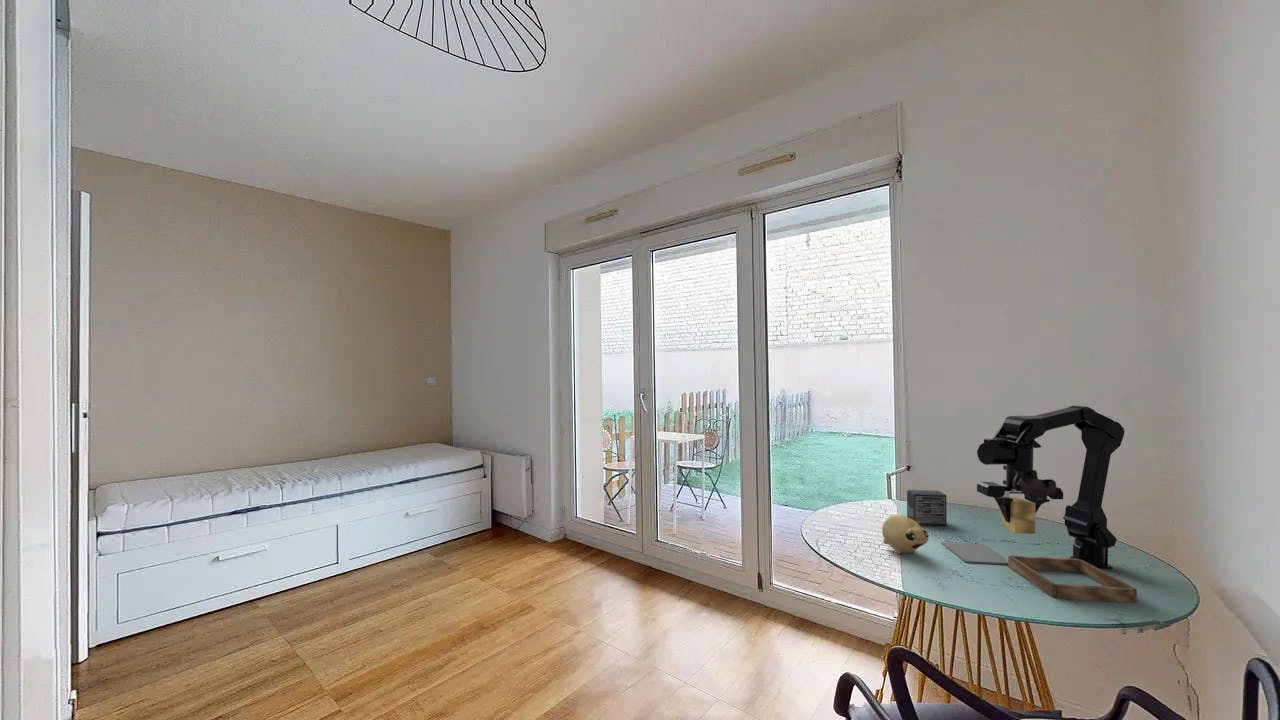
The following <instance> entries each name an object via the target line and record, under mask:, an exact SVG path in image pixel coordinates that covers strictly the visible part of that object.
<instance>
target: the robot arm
mask: <svg viewBox="0 0 1280 720" xmlns="http://www.w3.org/2000/svg"><path fill="white" fill-rule="evenodd" d="M1070 425H1074V427H1075V428H1077V429H1078V430H1079V431H1080V432H1081V437H1080V439H1081V441H1082V443H1083V445H1084V447H1085V449H1086V451H1085V457H1084V463H1083V468H1082V473H1081V478H1080V484H1079V489H1078V496H1077V500H1076V501H1075V502H1074V503H1073V504H1072V505H1068V504H1067V505H1066V506H1065V512H1064V515H1063V517H1062V519H1063V520H1064V527H1066V529H1067V533H1068V535H1069V537H1073V538H1074V543H1073V544H1072V556H1071V555H1070V558H1073V559H1079V560H1084V561H1085V562H1087V563H1089V564H1091V565H1093V566H1095V567H1097V568H1098V569H1110V570H1111V569H1113V566H1112V565H1110V564H1109V549H1110V548H1112V547H1115V546H1116V543H1117V541H1118V540H1117V538H1116V536H1115V535H1114V534H1113V533H1112V532H1111V531H1110V530H1109V528H1108V518H1107V516H1106V515H1107V514H1106V513H1105V512H1104V509H1103V506H1102V504H1103V500H1104V493H1105V488H1106V485H1107V484H1106V483H1107V478H1108V473H1109V466H1110V461H1111V457H1112V456H1111V455H1112V454H1113V453H1114V452H1115V451H1117V449H1119V447H1121V445H1122V442H1123V439H1124V436H1125V428H1124V427H1123V426H1122V424H1121V423H1120V422H1118V421H1115V420H1113V419H1112V418H1111V417H1108V416H1105V415H1103V414H1101V413H1099V412H1097V411H1095V409H1093V408H1091V407H1089V406H1086V405H1085V406H1083V405H1069V406H1068V407H1065V408H1061V409H1057V410H1056V409H1055V410H1053V411H1048V412H1045V413H1040V414H1036V415H1010V416H1009V415H1008V416H1006V418H1004V421H1003V423H1002V424H1001V426H999V428H998V430H997V431H996V432H995V434H994V435H993V437H992V438H983V442H982V443H981V444H980V445H978V447H977V451H976V456H977V458H978V460H979V461H980V462H981V463H982V464H983V465H985V466H988V465H990V466H991V465H992V466H993V465H994V466H995V465H996V466H997V465H998V466H999V465H1001V466H1002V465H1003V467H1002V468H1003V470H1005V475H1006V476H1005V479H1003V480H1002V485H1000V484H998V483H996V482H993V481H979V482H978V483H977V484H976V492H978V493H980V494H981V495H984V496H986V497H989V498H994V501H995V502H996V503H997V505H998V508H999V509H1000V512H1001V514H1002V517H1003V516H1004V518H1005V520H1006V522H1010V504H1011V502H1012V501H1013V499H1012V498H1013V497H1010V494H1013V495H1018V494H1021V495H1024V497H1023V498H1024V499H1026V500H1029V501H1031V502H1034V503H1036V506H1035V515H1036V514H1037V512H1038V510H1039V509H1040V507H1041V506H1042V505H1044V504H1045V503H1049V502H1050V501H1051V500H1064V492H1063V489H1062V488H1061V487H1058V486H1057V482H1056V481H1055V480H1054V479H1052V478H1051V479H1047V478H1045V479H1040V478H1038V472H1037V470H1036V469H1034V449H1041V448H1042V445H1041V444H1040V443H1039V442H1037V441H1036V439H1038V438H1041V437H1042V436H1044V434H1045V433H1046V432H1047V431H1050V430H1051V431H1052V430H1055V429H1058V428H1063V427H1067V426H1068V427H1069V426H1070ZM1048 498H1049V499H1048Z"/></svg>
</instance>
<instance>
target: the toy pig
mask: <svg viewBox="0 0 1280 720" xmlns="http://www.w3.org/2000/svg"><path fill="white" fill-rule="evenodd" d="M881 531H882V532H881V533H882V537H883V541H882V543H883V544H884V545H888V546H890V547H891V549H893V550H894V551H895V554H896V555H901V554H902V553H905V554H909V553H912V554H914V553H916V550H918V549H919V548H920V547H922V546H924V545H926V544H927V543H928V542H929V537H930V536H929V533H928V531H927V530H925V529H924V528H922V529H920V528H919V527H918V526H917V525H916V524H915V523H914V522H912V521H911V520H910V519H909V518H907V515H904V514H903V513H896V514H892V515H890V516H889V517H887V518H886V519H885V521H884V522H883V524H882V527H881Z"/></svg>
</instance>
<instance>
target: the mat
mask: <svg viewBox="0 0 1280 720" xmlns="http://www.w3.org/2000/svg"><path fill="white" fill-rule="evenodd" d="M940 543H941V545H942V546H944V547H945V548H946V549H948V551H950V552H951V553H953V554H954V555H955V556H956V557H958V558H959V559H960V560H961V561H962V562H963V563H966V564H980V563H984V565H1000V564H1001V566H1002V565H1003V566H1008V558H1005V557H1004V556H1003V555H1001V554H1000V553H998V552H997V551H995V550H993V549H992V548H990V547H989V546H988V545H986V544H985V543H970V542H968V543H967V542H966V543H965V542H947V541H946V542H943V541H941V542H940Z"/></svg>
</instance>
